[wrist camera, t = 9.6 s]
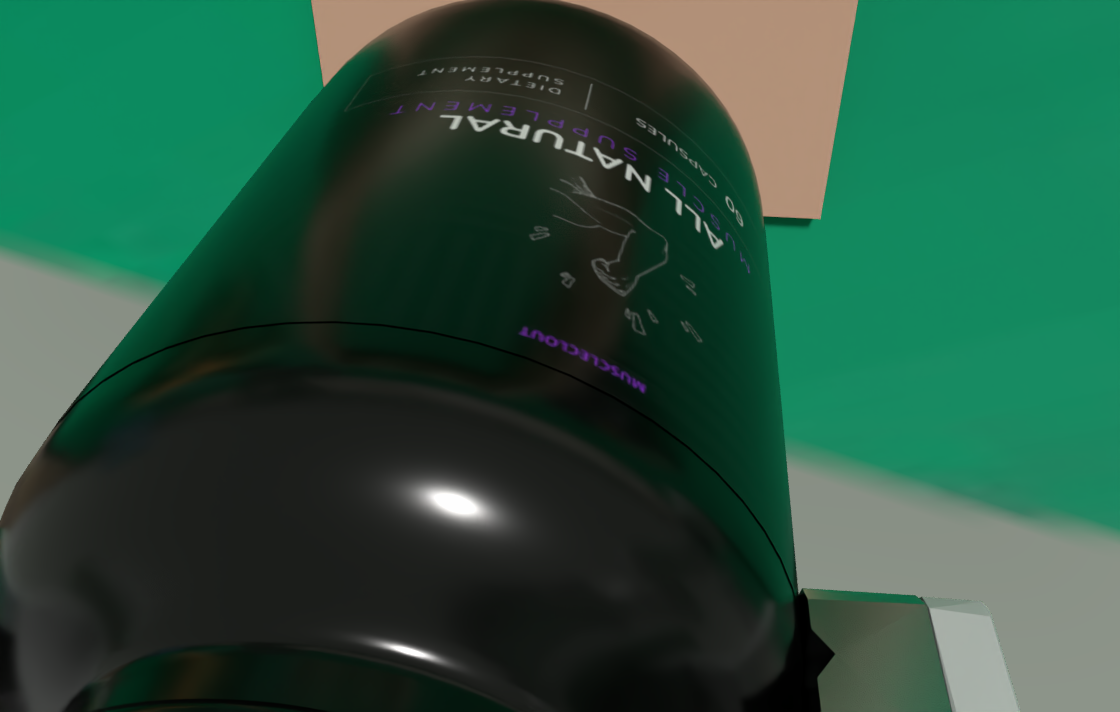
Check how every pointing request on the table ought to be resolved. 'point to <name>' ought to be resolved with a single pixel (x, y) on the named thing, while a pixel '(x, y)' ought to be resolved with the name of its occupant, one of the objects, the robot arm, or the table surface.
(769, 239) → the table surface
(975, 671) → the robot arm
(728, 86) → the terracotta tile
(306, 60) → the table surface
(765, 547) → the supplement bottle
